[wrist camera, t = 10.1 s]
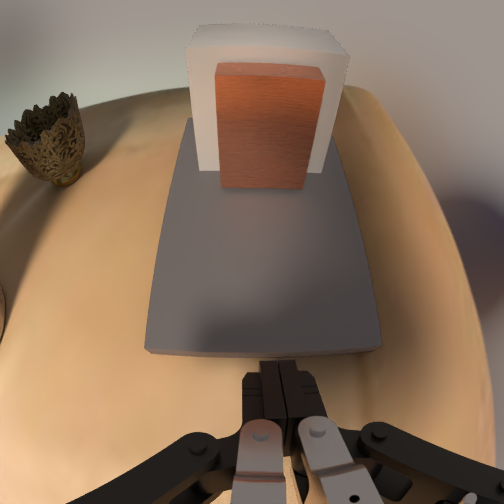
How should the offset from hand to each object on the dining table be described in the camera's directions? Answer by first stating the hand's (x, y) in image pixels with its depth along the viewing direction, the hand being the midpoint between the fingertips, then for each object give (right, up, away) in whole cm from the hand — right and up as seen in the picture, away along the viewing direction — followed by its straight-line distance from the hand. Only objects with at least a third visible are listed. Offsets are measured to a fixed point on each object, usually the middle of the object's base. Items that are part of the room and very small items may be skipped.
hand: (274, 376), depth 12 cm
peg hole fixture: (0, +8, +11) cm, 14 cm away
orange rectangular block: (0, +15, +12) cm, 19 cm away
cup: (-19, +13, +13) cm, 27 cm away
